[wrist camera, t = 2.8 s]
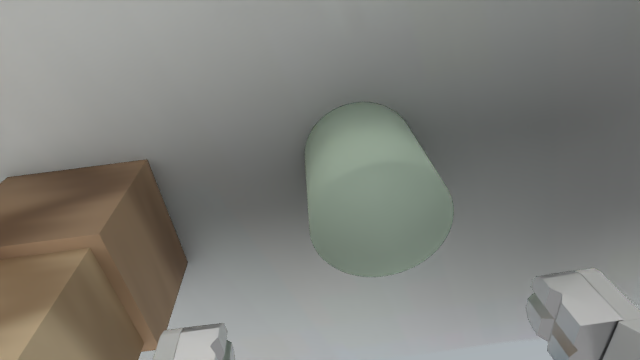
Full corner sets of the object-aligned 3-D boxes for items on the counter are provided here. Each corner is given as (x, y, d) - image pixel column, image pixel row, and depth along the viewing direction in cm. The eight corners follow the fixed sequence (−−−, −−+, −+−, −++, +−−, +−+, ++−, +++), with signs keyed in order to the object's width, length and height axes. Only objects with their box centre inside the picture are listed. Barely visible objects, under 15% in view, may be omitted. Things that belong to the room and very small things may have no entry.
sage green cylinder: (414, 95, 16) (459, 151, 12) (412, 192, 18) (448, 268, 14) (297, 109, 16) (300, 171, 12) (311, 204, 18) (317, 284, 14)
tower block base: (147, 158, 17) (98, 234, 12) (187, 261, 20) (160, 349, 16) (8, 176, 17) (-88, 257, 12) (71, 276, 20) (11, 368, 16)
